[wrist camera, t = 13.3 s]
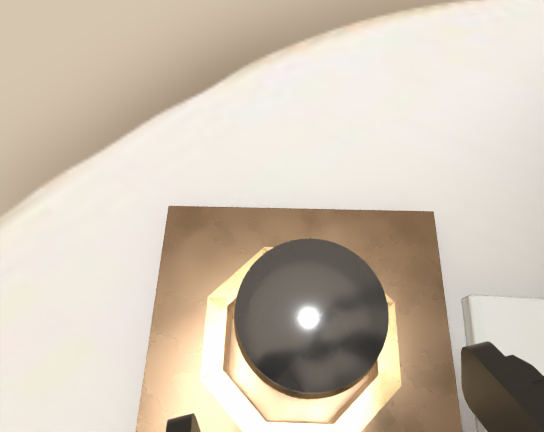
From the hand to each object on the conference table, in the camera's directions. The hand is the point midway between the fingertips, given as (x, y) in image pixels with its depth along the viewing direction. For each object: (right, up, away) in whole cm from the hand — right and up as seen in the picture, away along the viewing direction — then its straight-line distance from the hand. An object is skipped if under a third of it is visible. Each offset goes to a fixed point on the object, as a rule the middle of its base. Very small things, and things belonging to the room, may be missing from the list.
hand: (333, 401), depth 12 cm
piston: (0, -2, +10) cm, 10 cm away
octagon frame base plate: (0, -2, +11) cm, 11 cm away
